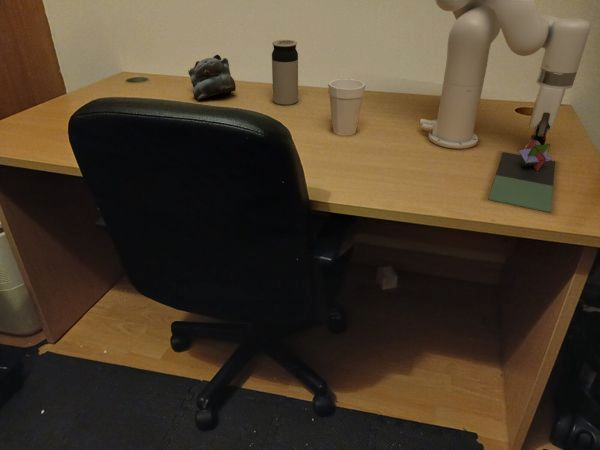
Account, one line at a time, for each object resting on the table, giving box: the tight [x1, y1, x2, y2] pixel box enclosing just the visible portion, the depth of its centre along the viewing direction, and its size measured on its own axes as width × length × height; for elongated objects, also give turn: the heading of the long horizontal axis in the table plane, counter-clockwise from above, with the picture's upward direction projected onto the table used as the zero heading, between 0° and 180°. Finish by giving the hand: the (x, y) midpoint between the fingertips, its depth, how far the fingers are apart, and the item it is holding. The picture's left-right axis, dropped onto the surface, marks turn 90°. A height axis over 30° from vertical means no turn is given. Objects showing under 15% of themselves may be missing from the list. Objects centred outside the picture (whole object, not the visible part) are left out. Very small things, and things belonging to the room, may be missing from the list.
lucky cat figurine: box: [187, 54, 237, 101], centre depth 155 cm, size 15×12×14 cm
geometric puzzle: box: [517, 138, 553, 172], centre depth 111 cm, size 7×7×8 cm
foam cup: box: [328, 78, 366, 136], centre depth 128 cm, size 10×9×13 cm
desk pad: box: [487, 151, 556, 214], centre depth 108 cm, size 12×26×1 cm, turn 154°
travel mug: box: [271, 39, 299, 106], centre depth 148 cm, size 8×8×18 cm
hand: (534, 152), depth 118 cm, fingers closed
